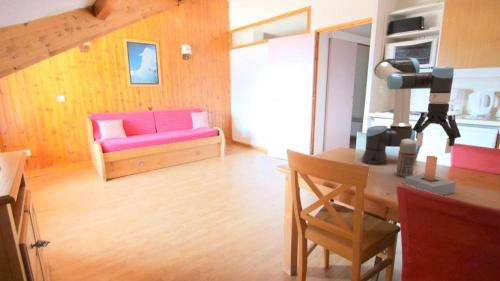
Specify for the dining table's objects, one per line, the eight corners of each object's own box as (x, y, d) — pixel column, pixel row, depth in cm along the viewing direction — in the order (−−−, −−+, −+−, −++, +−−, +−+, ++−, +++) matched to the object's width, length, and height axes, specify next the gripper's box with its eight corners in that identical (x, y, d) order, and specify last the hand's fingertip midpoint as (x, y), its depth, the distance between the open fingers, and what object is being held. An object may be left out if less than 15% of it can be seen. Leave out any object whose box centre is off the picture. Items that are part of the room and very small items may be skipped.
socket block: (404, 186, 126) (405, 176, 125) (425, 182, 130) (426, 173, 129) (431, 197, 113) (433, 186, 112) (454, 192, 117) (455, 182, 116)
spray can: (413, 174, 143) (417, 138, 139) (413, 178, 136) (417, 141, 132) (396, 171, 147) (399, 137, 143) (395, 176, 140) (398, 140, 136)
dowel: (421, 188, 123) (424, 156, 120) (427, 187, 124) (431, 155, 121) (429, 191, 119) (433, 158, 116) (435, 190, 120) (439, 157, 117)
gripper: (407, 101, 124) (402, 144, 128) (463, 105, 101) (455, 157, 105) (419, 100, 126) (414, 142, 131) (476, 104, 103) (468, 155, 107)
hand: (432, 149), depth 118 cm, fingers open, 13 cm apart
